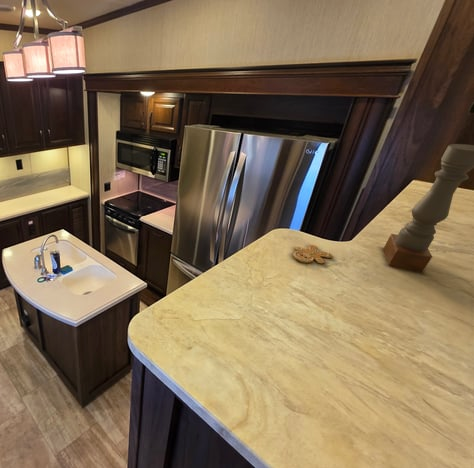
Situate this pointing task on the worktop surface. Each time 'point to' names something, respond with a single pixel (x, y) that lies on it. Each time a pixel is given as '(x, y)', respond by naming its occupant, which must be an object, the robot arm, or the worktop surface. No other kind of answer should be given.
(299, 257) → the cookie
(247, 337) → the worktop surface
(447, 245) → the worktop surface
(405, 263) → the brown wooden block
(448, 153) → the candle holder
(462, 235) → the worktop surface
